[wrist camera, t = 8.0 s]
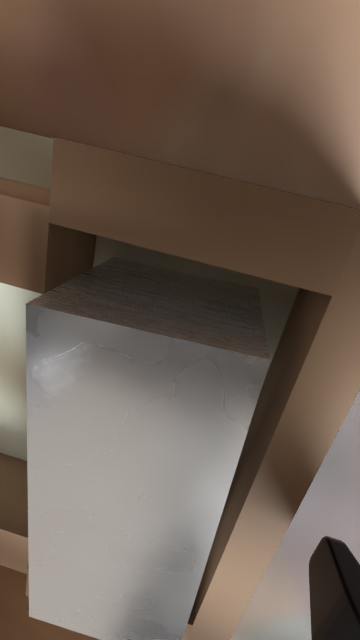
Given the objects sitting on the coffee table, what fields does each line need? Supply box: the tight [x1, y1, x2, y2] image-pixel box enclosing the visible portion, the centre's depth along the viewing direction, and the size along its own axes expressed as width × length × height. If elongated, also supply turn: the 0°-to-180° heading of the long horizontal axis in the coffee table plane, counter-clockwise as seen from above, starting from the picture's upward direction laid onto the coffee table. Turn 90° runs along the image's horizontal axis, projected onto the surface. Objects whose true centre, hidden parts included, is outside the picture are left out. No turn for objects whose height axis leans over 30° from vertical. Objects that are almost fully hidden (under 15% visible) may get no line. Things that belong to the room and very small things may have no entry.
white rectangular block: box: [26, 258, 270, 640], centre depth 9 cm, size 9×4×4 cm, turn 170°
